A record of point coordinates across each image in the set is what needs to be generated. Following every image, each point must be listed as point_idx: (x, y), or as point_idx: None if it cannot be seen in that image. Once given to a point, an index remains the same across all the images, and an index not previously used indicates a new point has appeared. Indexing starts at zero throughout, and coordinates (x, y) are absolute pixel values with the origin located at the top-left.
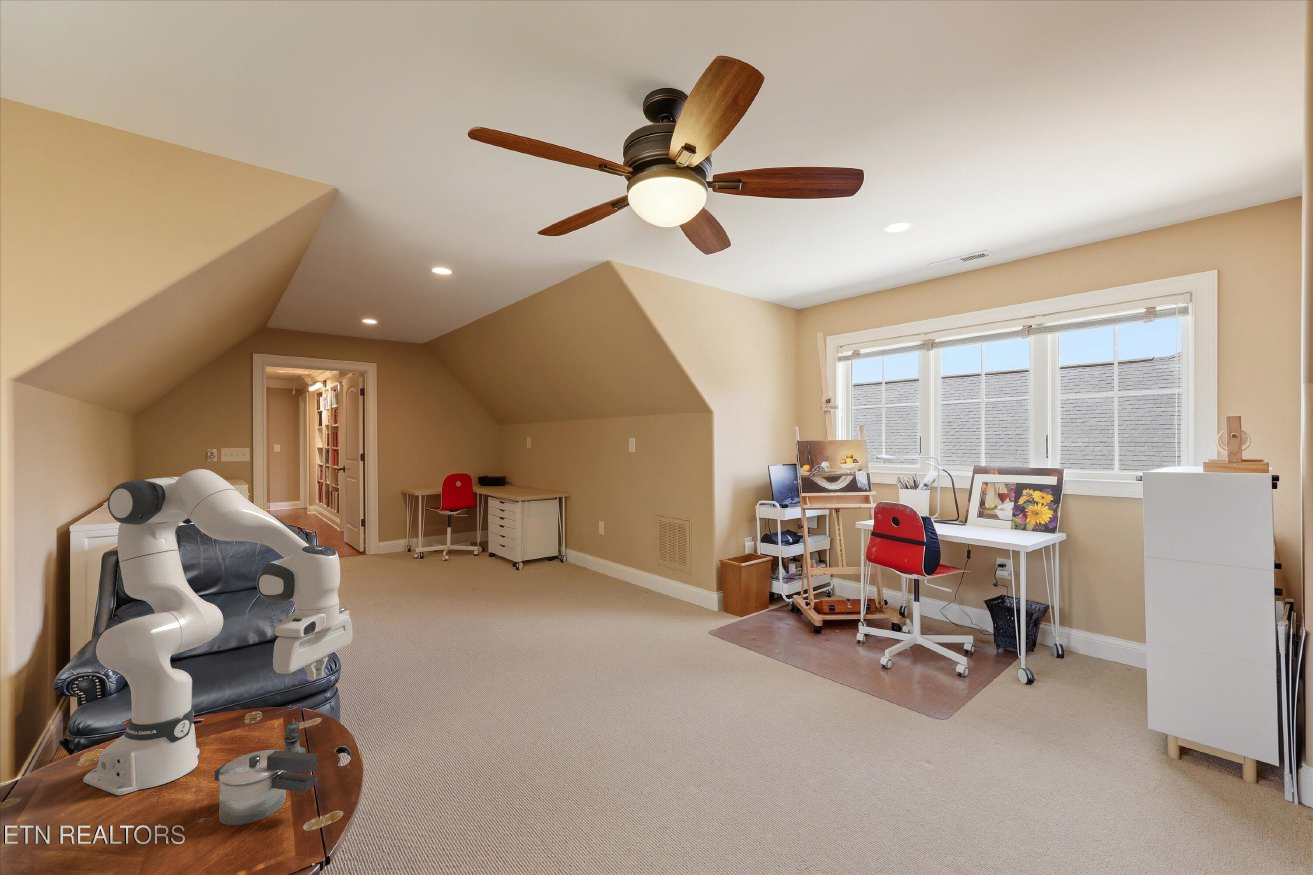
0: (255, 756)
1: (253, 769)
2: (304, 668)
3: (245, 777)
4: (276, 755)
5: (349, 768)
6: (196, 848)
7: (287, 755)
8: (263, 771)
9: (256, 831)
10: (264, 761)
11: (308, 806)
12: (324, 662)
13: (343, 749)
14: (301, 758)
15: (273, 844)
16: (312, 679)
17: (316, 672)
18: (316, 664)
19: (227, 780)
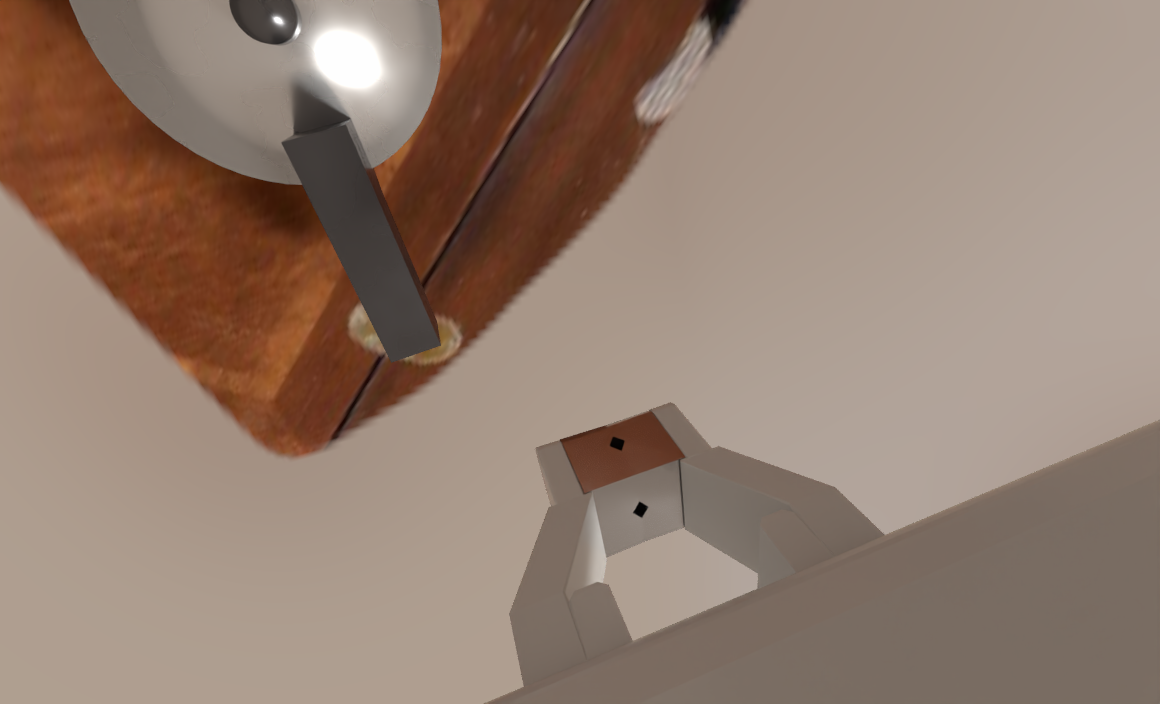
0: (272, 3)
1: (245, 62)
2: (524, 575)
3: (178, 103)
4: (319, 183)
5: (631, 157)
6: (28, 81)
7: (355, 237)
8: (272, 138)
9: (244, 199)
10: (325, 40)
11: (424, 230)
12: (757, 569)
13: (726, 9)
14: (378, 322)
15: (251, 311)
16: (549, 497)
17: (608, 545)
18: (725, 482)
19: (83, 29)
